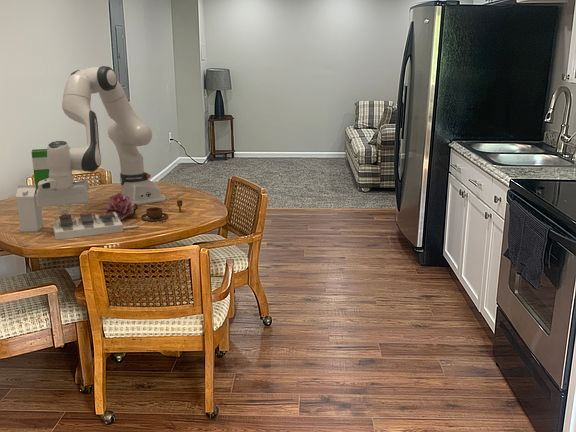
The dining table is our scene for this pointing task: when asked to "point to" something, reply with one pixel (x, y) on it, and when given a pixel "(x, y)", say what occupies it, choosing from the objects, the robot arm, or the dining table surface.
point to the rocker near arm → (106, 216)
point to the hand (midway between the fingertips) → (64, 214)
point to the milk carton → (28, 209)
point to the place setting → (158, 213)
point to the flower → (121, 205)
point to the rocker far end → (66, 220)
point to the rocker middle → (86, 218)
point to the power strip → (89, 227)
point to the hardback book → (40, 165)
